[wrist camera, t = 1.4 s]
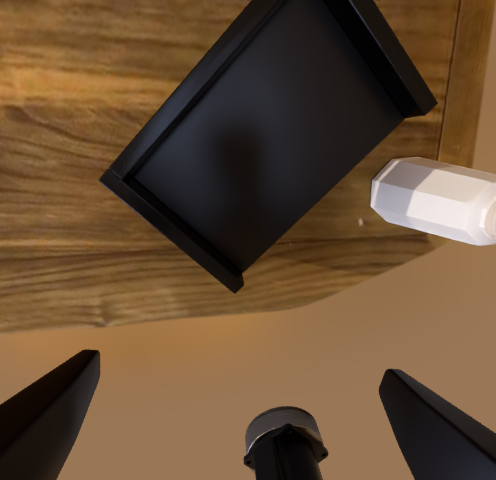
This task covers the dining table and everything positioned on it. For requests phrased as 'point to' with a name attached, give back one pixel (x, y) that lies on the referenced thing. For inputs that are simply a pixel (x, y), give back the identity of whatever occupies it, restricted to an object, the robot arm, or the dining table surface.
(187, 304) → the dining table surface
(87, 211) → the dining table surface
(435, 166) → the salt shaker
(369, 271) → the dining table surface
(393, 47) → the black open box
